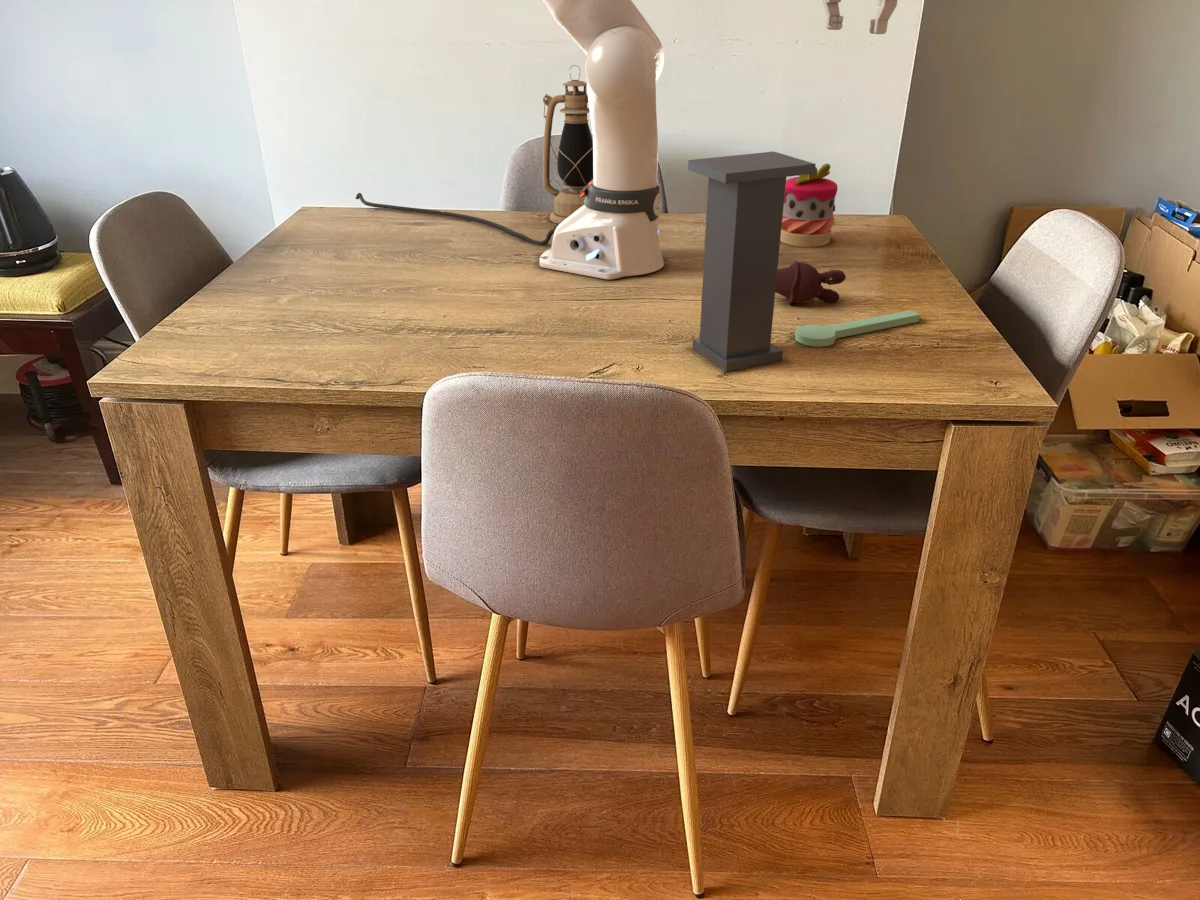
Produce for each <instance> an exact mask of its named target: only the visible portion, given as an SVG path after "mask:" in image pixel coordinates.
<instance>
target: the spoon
mask: <svg viewBox="0 0 1200 900" xmlns="http://www.w3.org/2000/svg"><path fill="white" fill-rule="evenodd" d="M920 317H921V314H920V313H917V311H913V310H911V309H909V310H904V311H898V312H894V313H887V314H883V315H878V316H873V317H866V318H862V319H857V320H852V321H848V322H842V323H837V324H832V325H826V326H825V325H820V324H819V325H818V324H805V325H799V326H798V327H797V328H796V329H795V335H794V339H795V341H796V342H798V343H799V344H801V345H805V346H808V347H815V348H816V347H818V348H821V347H828V346H831V345H833V344H834V343H835V341H836V339H840V338H845V337H851V336H855V335H860V334H865V333H871V332H875V331H881V330H885V329H891V328H895V327H899V326H906V325H910V324H915V323H919V322H920Z"/></svg>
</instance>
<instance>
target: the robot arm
mask: <svg viewBox="0 0 1200 900" xmlns="http://www.w3.org/2000/svg"><path fill="white" fill-rule="evenodd" d="M541 2H542V3H543V5H544V6H545V8H546V9H547V10H548V12H549V13H550V15H551V16H552V18H553V19H554V21H555V22H556V23H557V25H558V26H560V27H561V28H562V29H563V30H564V31H565V33H567V34H568V35H569V36H570V37H571V39H572V40H573V41H574V43H576V44H577V45H578V47H579V48H580V49H581V50H582V52H583V53H584V54H585V56H586V59H585V69H584V70H585V77H586V83H587V86H586V91H587V95H588V101H589V103H588V108H589V110H590V113H589V117H590V124H591V135H592V140H593V180H592V181H591V182H589V184H588V186H586V187H585V188H583V191H581V192H580V193H582V194H581V196H580V198H583V200H584V205H583V206H582V207H580V208H579V209H578V210H576V211H575V212H574V213H573V214H571V215H570V216H569V217H568V218H566V219H565V220H564V221H563V222H562V223H560V224H559V223H557V224H554V225H553V228H551V229H549V231H548V232H547V234H546V237H545V239H543V240H539V241H538V240H535V239H532V238H530V237H529V236H527V235H524V234H523V233H520V232H517V231H515V230H512V229H511V228H508V227H506V226H504V225H502V224H499V223H496V222H494V221H491V220H488V219H484V218H480V217H476V216H472V215H467V214H462V213H458V212H457V213H456V212H450V211H444V212H441V211H442V210H435V209H427V208H420V207H411V206H410V207H409V206H401V205H392V204H386V203H385V204H384V203H375V202H371V201H367V200H365V198H364V196H363V194H362V193H361V192H358V193H357V194H356V196H355V200H359V201H360V202H361V203H362V204H363V205H365V206H366V207H371V208H377V209H386V210H396V211H403V212H410V213H411V212H413V213H420V214H428V215H435V216H436V215H438V216H445V217H451V218H457V219H463V220H467V221H472V222H477V223H480V224H483V225H487V226H490V227H494V228H496V229H498V230H501V231H503V232H505V233H507V234H509V235H511V236H513V237H516V238H518V239H521V240H523V241H525V242H527V243H529V244H533V245H537V246H545V245H548V244H549V242H550V241H551V247H550V248H548V249H547V250H545V251H544V252H542V254H541V255H540V256H539V263H538V264H539V267H541V268H542V269H543V268H544V269H549V270H554V271H558V272H559V271H560V272H565V273H570V274H574V275H580V276H585V277H591V278H596V279H602V280H616V279H620V278H623V277H633V276H642V275H648V274H651V273H654V272H658V271H659V270H661V269H662V268H663V267H664V266H665V261H664V257H663V253H662V248H661V242H660V234H659V233H660V230H659V224H658V223H659V222H658V218H659V217H660V216H659V215H660V210H661V194H660V184H659V183H658V170H659V169H658V167H659V166H658V164H659V131H658V118H657V117H658V116H657V81H658V80H659V79H660V76H661V74H662V72H663V69H664V66H665V65H664V64H665V52H664V48H663V45H662V42H661V40H660V38H659V37H658V35H657V34H656V32H655V31H654V29H653V28H652V27H651V25H650V24H649V22H648V21H647V20H646V18H645V17H644V16H643V14H642V13H641V12H640V10H639V9H638V7H637V6H636V4H635V3H634V2H633V1H632V0H541ZM841 2H842V0H822V3H823V8H824V10H825V15H826V22H825V23H826V24H825V27H826V30H828V31H839V30H841V29H843V22H844V15H841V13H840V6H839V3H841ZM877 6H879V8H878V10H877V13H876V15H875V17H874V19H873V18H871V19H870V22H869V26H870V27H869V31H868V32H869V33H870V34H872V35H885V34H886V33H887V31H888V24H889V20H890V18H891V17H892V15H893V13H894V11H895V10H896V8H897V6H898V0H877ZM551 238H552V240H551Z"/></svg>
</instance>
